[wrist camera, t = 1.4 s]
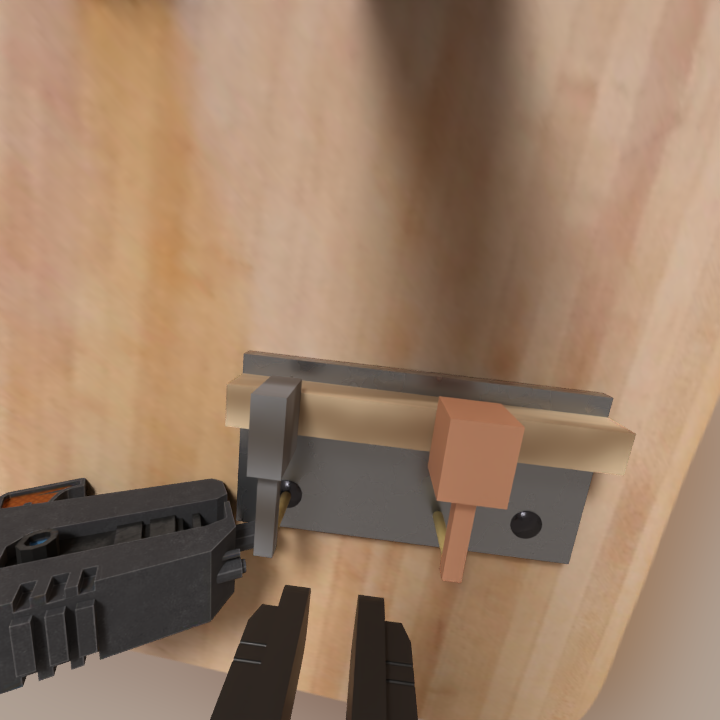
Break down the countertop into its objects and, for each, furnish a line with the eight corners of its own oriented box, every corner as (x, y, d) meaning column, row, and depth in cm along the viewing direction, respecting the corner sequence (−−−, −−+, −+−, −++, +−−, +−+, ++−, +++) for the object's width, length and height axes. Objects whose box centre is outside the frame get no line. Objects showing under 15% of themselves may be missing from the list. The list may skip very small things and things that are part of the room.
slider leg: (432, 384, 27) (451, 418, 20) (488, 390, 27) (525, 427, 20) (411, 517, 29) (421, 588, 22) (462, 524, 29) (487, 598, 22)
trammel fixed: (243, 360, 28) (197, 387, 20) (611, 404, 27) (694, 448, 20) (237, 493, 30) (193, 558, 23) (575, 536, 29) (638, 618, 22)
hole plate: (249, 350, 29) (243, 353, 27) (603, 392, 28) (613, 398, 27) (241, 511, 32) (235, 521, 30) (561, 553, 31) (568, 564, 30)
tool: (-13, 470, 29) (-159, 642, 16) (244, 440, 37) (286, 535, 25) (-4, 539, 30) (-132, 751, 17) (243, 495, 39) (282, 611, 26)
